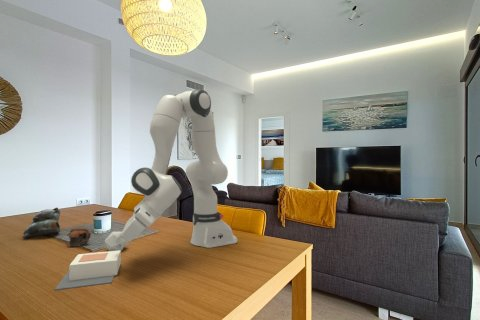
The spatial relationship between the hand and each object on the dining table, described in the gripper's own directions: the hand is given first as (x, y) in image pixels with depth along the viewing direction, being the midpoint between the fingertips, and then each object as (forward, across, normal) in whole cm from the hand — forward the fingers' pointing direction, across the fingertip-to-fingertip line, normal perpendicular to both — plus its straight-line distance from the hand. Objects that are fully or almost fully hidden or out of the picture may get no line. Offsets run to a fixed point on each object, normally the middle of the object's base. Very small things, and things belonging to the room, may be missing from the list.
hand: (116, 241), depth 93 cm
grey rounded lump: (+37, -56, -22) cm, 71 cm away
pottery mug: (+22, -35, -7) cm, 42 cm away
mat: (+13, 0, +2) cm, 13 cm away
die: (+9, -22, +5) cm, 24 cm away
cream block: (+5, 0, +6) cm, 7 cm away
